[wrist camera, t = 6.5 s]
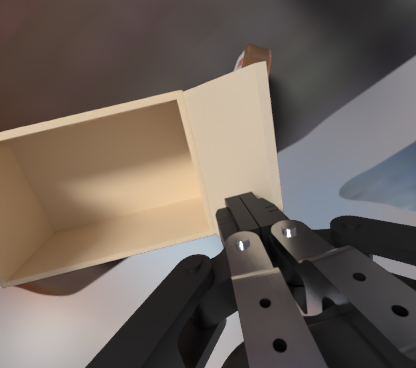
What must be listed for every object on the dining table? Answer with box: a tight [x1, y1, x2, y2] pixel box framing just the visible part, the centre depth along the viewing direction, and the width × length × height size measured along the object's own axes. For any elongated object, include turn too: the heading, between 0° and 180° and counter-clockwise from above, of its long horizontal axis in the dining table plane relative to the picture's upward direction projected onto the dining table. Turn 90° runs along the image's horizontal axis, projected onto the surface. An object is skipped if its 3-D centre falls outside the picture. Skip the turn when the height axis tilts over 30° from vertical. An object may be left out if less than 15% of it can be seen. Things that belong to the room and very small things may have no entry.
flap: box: [183, 61, 284, 238], centre depth 16 cm, size 11×14×1 cm
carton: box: [0, 90, 217, 288], centre depth 26 cm, size 22×14×10 cm, turn 103°
